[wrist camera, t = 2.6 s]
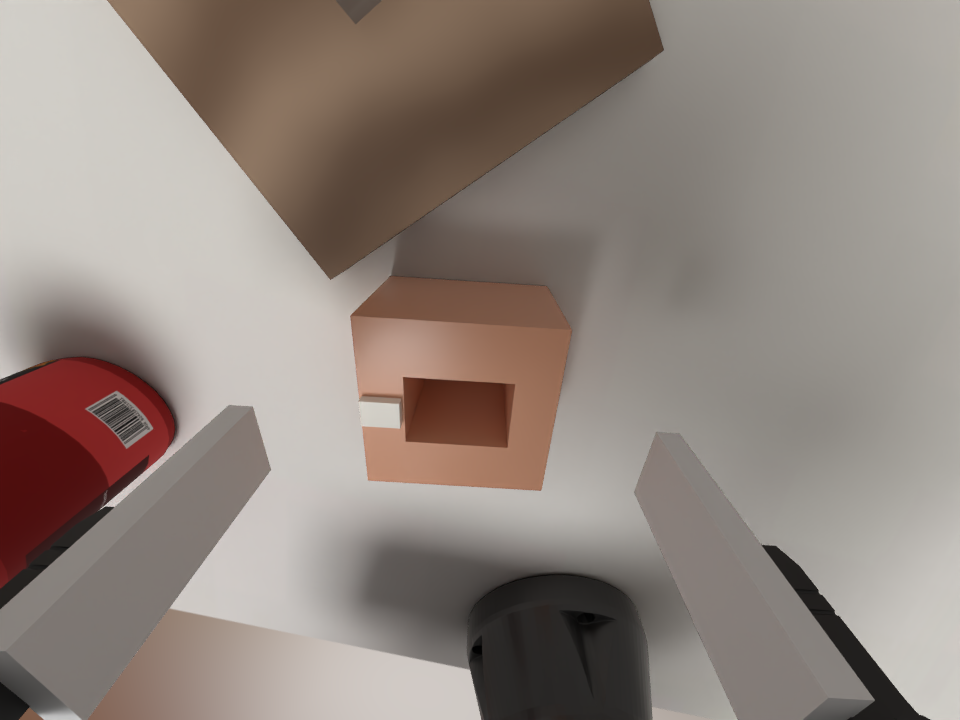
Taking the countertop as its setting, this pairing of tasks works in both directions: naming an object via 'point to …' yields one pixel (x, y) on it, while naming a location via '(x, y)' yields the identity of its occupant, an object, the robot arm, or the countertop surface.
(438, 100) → the base plate
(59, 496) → the canned food
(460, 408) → the orange open box
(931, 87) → the countertop surface
